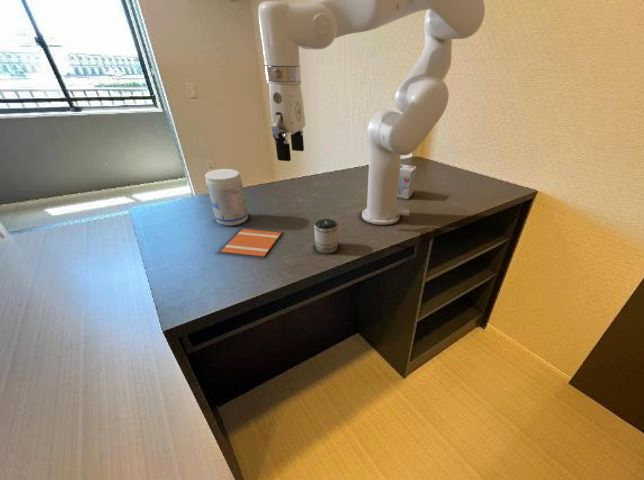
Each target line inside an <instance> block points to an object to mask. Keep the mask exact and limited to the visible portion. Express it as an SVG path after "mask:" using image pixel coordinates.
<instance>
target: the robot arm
mask: <svg viewBox="0 0 644 480" xmlns="http://www.w3.org/2000/svg"><path fill="white" fill-rule="evenodd" d="M257 9H258V10H257V13H258V21H259V29H260V30H259V31H260V37H261V44H262V45H261V46H262V52H263V61H264V69H265V77H266V84H268V85H269V104H270V117H271V125H270V129H271V132H272V137H273V139H274V141H273V142H274V143H275V151H276V157H277V160H278V161H281V162H291V160H292V156H291V150H292V151H294V152H295V151H296V152H304V150H305V147H304V145H305V144H304V130H303V129H304V128H305V127H306V118H305V108H304V100H303V99H304V98H303V93H302V88H301V85H302V75H301V74H302V73H301V63H300V61H301V60H300V49H299V48H301V49H303V50H316V51H317V50H324V49H326V48H328V47H330V46H331V45H332V44H333V42H334V41H335V39H338V38H340V37H344V36H347V35H350V34H359V33H365V32H368V31H369V32H370V31H372V30H376V29H378V28H381V27H384V26H385V25H388V24H390V23H393V22H395V21H397V20H400V19H403V18H404V17H408V16H410V15H412V14H415V13H419V12H422V11H426V12H425V14H424V20H423V29H424V31H423V32H424V44H423V45H424V46H423V50H422V53H421V55H420V56H419V57H418V59H417V61H416V62H415V63H414V65H413V67H412V68H411V69H410V71H409V72H408V73H407V75H406V76H405V78H404V79H403V80H402V82H401V83H400V84H399V86H398V88H397V90H396V92H395V95H394V104H395V107H396V108H397V109H398V111H399V112H396V111H394V110H390V109H389V110H388V109H384V110H379V111H377V112H376V113H374V114H373V116H372V117H371V118H370V120H369V122H368V126H367V142H368V157H369V158H368V177H367V194H366V195H367V196H366V197H367V198H366V208H365V209H363V210H362V212H361V218H362V219H363V220H364V221H365V222H367V223H370V224H373V225H378V226H379V225H380V226H386V225H392V224H395V223H397V222H398V221H399V220H400V216H405V217H410V212H411V211H410V209H407V207H404V206H400V205H398V202H397V200H398V197H397V192H398V183H399V174H400V166H401V164H402V163H401V162H402V161H401V160H402V159H401V156H407V155H410V154H412V153H414V152H415V151H416V150H417V149H418V148H419V146H420V145H421V144H422V143H423V142H424V140H425V139H426V137H427V136H428V135H429V134H430V132H431V131H432V130H433V128H434V127H435V126H436V124H437V123H438V122H439V121H440V119H441V118H442V116H443V115H444V113H445V111H446V109H447V106H448V102H449V95H450V94H449V93H450V92H449V88H448V86H447V84H446V83H445V81H443V80H444V79H445V78H446V76H447V75H448V72H449V71H450V68H451V64H452V58H453V57H452V54H453V49H452V48H453V47H452V43H453V42H452V40H463V39H467V38H470V37H472V36H473V35H475V34H476V33H477V32H478V30H480V28H481V26H482V24H483V22H484V18H485V13H486V11H485V9H486V7H485V2H484V0H319V1H316V2H313V3H304V4H302V3H301V4H291V3H288V2H284V1H278V0H277V1H276V0H273V1H272V0H268V1H262V2H260V3H259V5H258V8H257ZM289 136H290V142H289ZM290 143H291V145H290ZM290 146H291V148H290Z"/></svg>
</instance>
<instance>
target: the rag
mask: <svg viewBox="0 0 644 480" xmlns="http://www.w3.org/2000/svg"><path fill="white" fill-rule="evenodd" d="M282 234H283V233H282V232H277V231H267V230H259V229H258V230H257V229H250V228H249V229H248V228H242V229H241V230H240V231H239V232H238V233H237V234H236V235H235V236H234V237H233V238H232V239H231V240H230V241H229V242H228V243H227V244H226V245H225V246H224V247H223V248H222V249H221V250H220V253H224V254H232V255H243V256H252V257H261V258H263V257H266V255H267V254H268V253H269V251H270V250H271V249H272V247H273V246H274V244H275V243H276V242H277V241H278V239H280V236H281V235H282Z"/></svg>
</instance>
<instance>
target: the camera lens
mask: <svg viewBox="0 0 644 480" xmlns="http://www.w3.org/2000/svg"><path fill="white" fill-rule="evenodd" d="M313 228H314V244H315V248H316V251H317V252H319V253H322V254H331V253H335V252H336V251H337V250H338V245H339V224H338V223H337V221H335V220H333V219H330V218H323V219H319V220H317V221H316V222H315V223H314V224H313Z"/></svg>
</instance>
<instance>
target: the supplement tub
mask: <svg viewBox="0 0 644 480" xmlns="http://www.w3.org/2000/svg"><path fill="white" fill-rule="evenodd" d="M204 176H205V183H206V187H207V191H208V195H209V199H210V203H211V206H212V210H213V214H214V218H215V221H216V223H218V224H219V225H222V226H231V227H232V226H237V225H240V224H242V223H243V224H244V223H245V222H246V221H247V220H248V218H249V213H248V210H247V204H246V198H245V192H244V188H243V181H242V177H241V174H240V171H238V170H236V169H232V168H218V169H213V170H209V171H208V172H206V173H205V174H204Z"/></svg>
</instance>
